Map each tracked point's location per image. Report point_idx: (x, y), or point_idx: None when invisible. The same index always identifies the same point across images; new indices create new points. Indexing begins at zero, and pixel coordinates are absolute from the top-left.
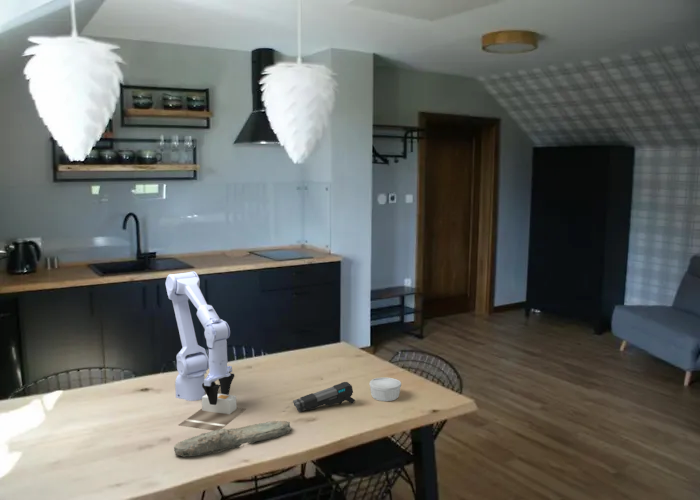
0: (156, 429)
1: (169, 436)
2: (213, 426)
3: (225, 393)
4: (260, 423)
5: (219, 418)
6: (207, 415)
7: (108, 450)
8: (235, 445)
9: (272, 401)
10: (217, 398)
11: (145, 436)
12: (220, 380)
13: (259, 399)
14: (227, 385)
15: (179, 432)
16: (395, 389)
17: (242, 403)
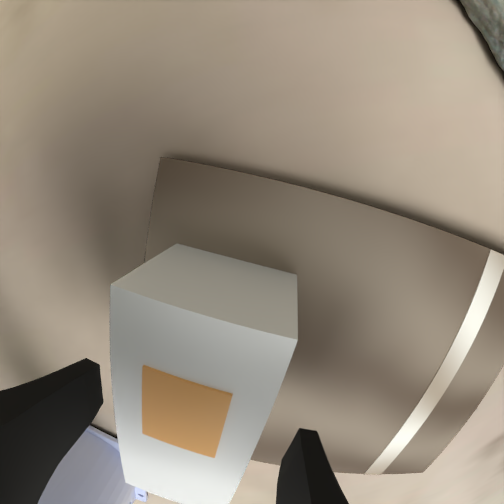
0: (406, 499)
1: (479, 449)
2: (492, 325)
3: (86, 392)
4: (497, 4)
5: (381, 331)
6: (319, 414)
7: (488, 499)
8: None
9: (31, 68)
10: (232, 453)
11: (448, 494)
12: (32, 495)
13: (10, 151)
14: (31, 425)
15: (460, 440)
16: None
17: (56, 234)
